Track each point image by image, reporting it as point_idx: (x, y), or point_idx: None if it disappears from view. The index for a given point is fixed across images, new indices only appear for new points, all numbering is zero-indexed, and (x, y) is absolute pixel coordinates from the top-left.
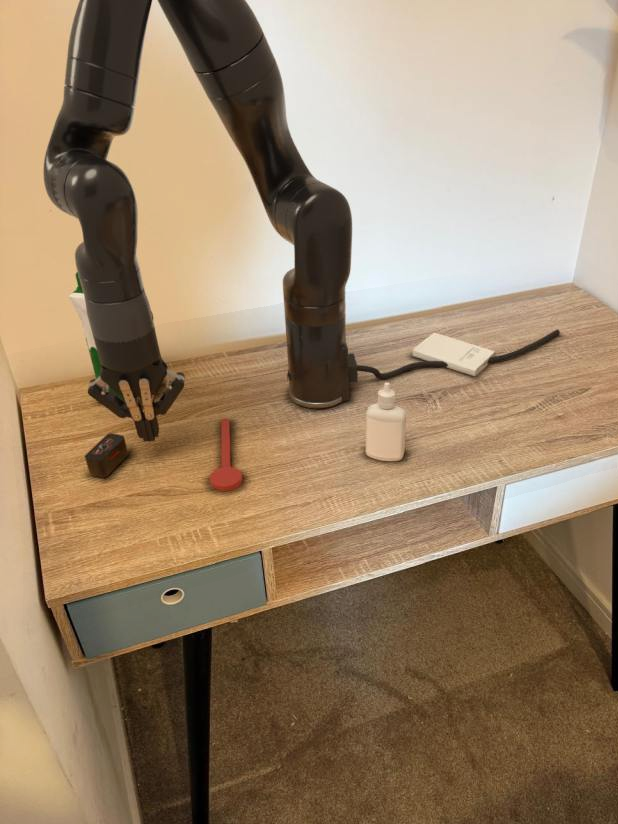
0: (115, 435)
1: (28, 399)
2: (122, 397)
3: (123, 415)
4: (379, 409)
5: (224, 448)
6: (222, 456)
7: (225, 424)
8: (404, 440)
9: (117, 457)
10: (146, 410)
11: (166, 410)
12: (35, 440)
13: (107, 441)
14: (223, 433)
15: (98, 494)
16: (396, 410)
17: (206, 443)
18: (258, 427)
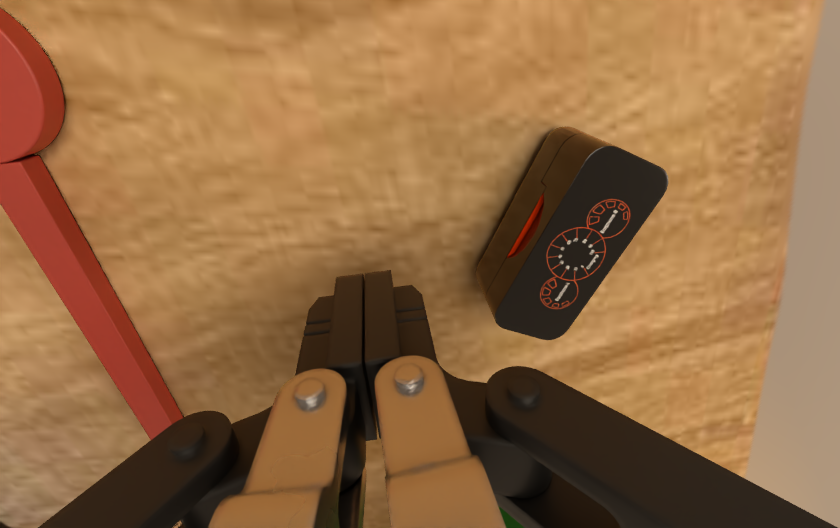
0: (531, 328)
1: (736, 473)
2: None
3: (512, 384)
4: None
5: (83, 296)
6: (62, 245)
7: (152, 419)
8: None
9: (512, 226)
10: (318, 441)
11: (146, 452)
12: (754, 336)
13: (563, 290)
14: (136, 377)
15: (579, 7)
16: None
17: (202, 334)
18: (42, 414)
